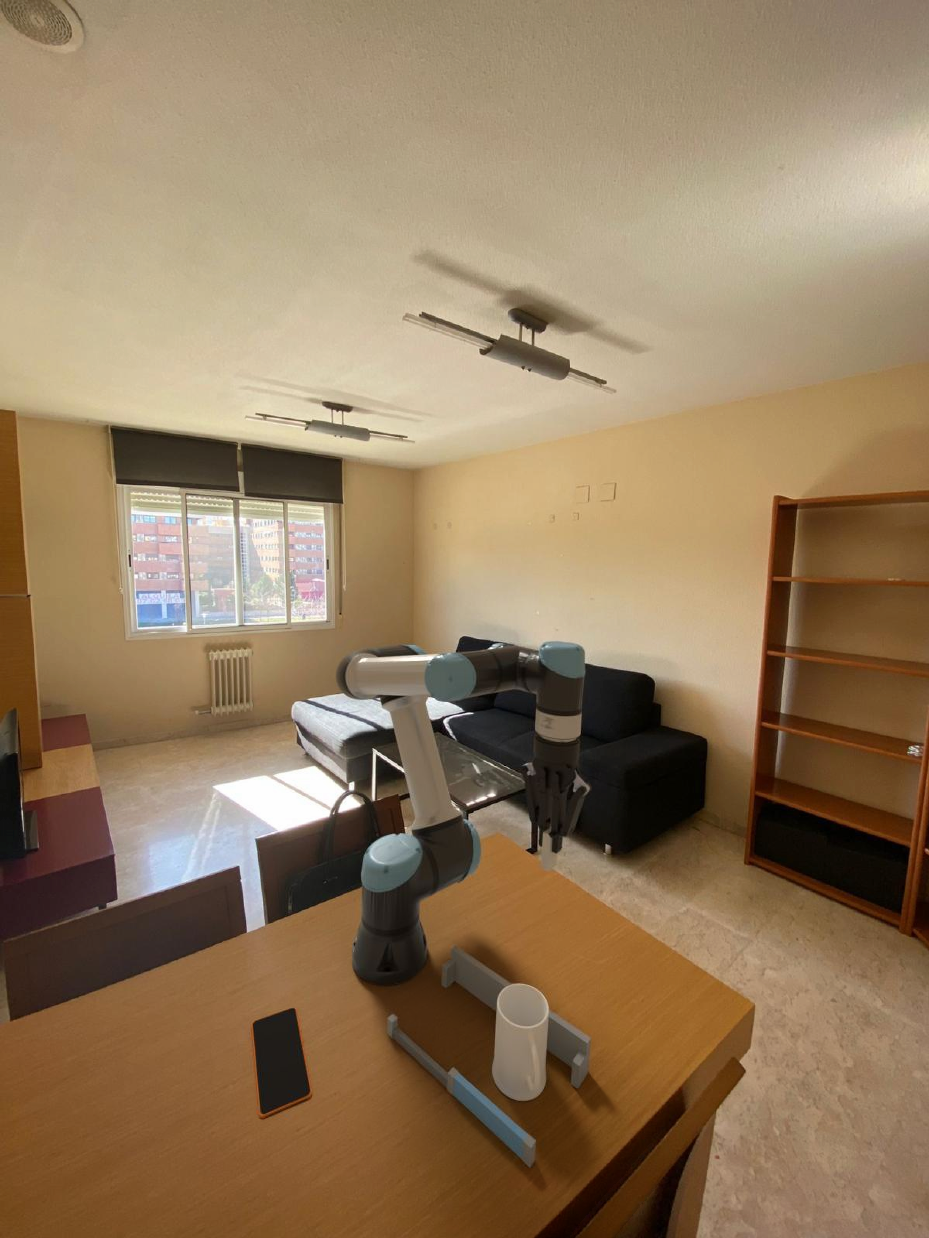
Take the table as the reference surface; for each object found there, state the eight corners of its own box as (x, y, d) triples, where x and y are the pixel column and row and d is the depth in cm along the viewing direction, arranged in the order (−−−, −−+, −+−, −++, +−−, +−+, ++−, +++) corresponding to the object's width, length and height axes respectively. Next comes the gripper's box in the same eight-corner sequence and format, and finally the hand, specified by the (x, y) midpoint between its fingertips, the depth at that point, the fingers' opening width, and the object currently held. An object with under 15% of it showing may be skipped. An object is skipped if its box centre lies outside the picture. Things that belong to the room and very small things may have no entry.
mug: (559, 1122, 73) (564, 1048, 72) (501, 1128, 72) (505, 1052, 71) (538, 1045, 85) (542, 980, 83) (488, 1049, 84) (491, 983, 82)
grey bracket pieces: (387, 1034, 86) (388, 1001, 85) (454, 973, 99) (455, 945, 98) (529, 1167, 67) (532, 1128, 67) (588, 1071, 80) (590, 1037, 80)
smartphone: (259, 1122, 72) (259, 1117, 72) (250, 1025, 87) (250, 1021, 87) (313, 1098, 75) (313, 1093, 75) (296, 1009, 90) (296, 1004, 90)
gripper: (512, 729, 86) (505, 859, 88) (581, 751, 77) (571, 893, 80) (536, 720, 91) (529, 842, 94) (603, 739, 83) (593, 873, 86)
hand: (548, 866), depth 87 cm, fingers closed
